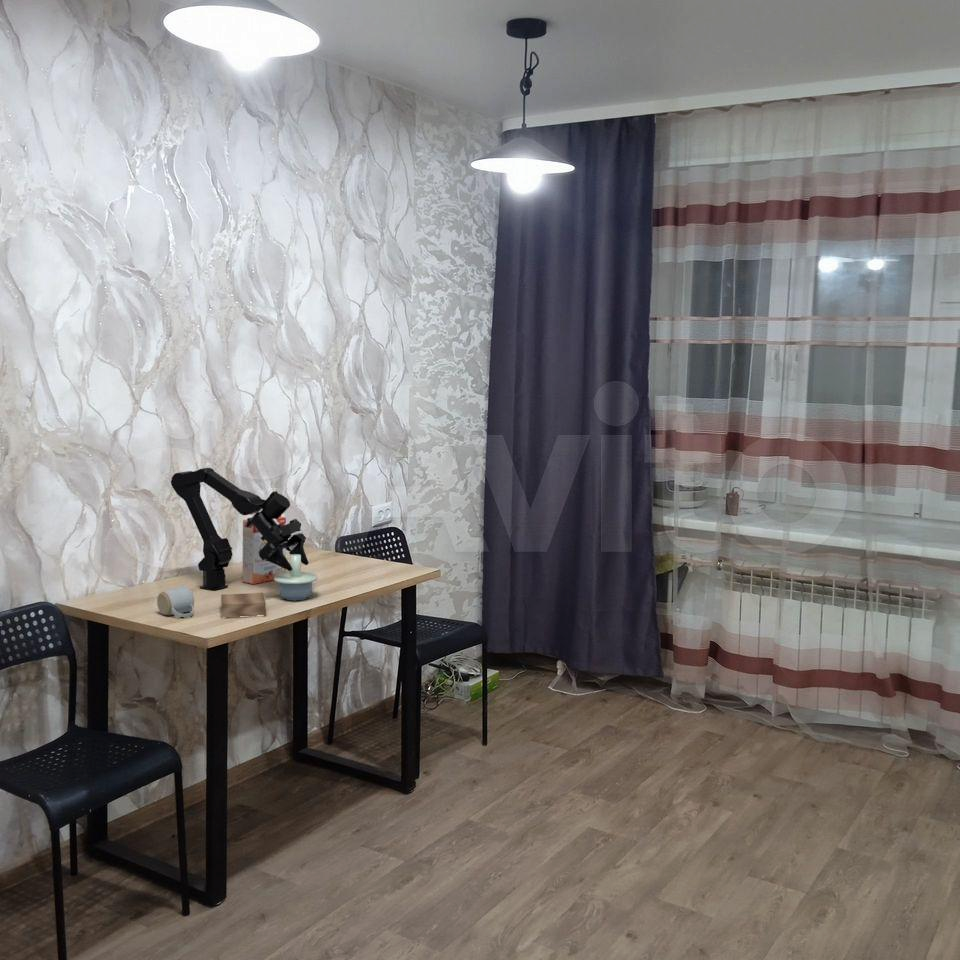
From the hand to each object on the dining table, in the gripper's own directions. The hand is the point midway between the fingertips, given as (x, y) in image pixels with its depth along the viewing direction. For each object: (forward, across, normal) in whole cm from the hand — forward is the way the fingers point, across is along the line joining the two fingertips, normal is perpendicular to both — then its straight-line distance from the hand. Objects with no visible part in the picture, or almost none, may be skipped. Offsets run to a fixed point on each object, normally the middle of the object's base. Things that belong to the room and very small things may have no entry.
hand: (299, 567), depth 299 cm
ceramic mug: (-8, -30, +22) cm, 38 cm away
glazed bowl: (+6, 0, +8) cm, 10 cm away
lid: (+2, 0, +4) cm, 4 cm away
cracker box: (-9, +16, +24) cm, 30 cm away
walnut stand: (+2, -20, +11) cm, 24 cm away
